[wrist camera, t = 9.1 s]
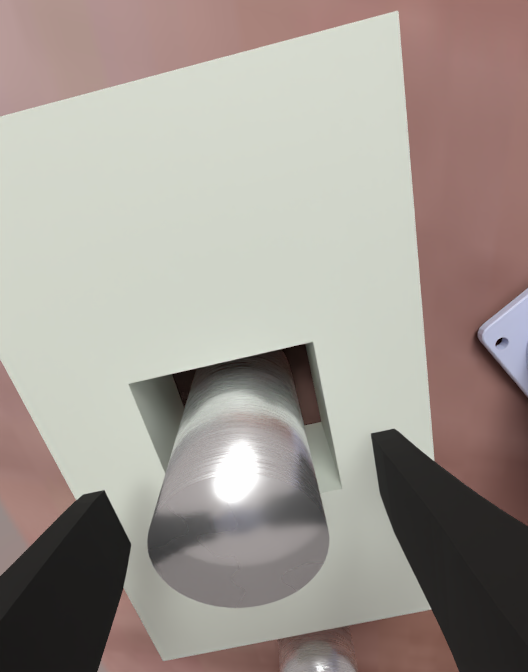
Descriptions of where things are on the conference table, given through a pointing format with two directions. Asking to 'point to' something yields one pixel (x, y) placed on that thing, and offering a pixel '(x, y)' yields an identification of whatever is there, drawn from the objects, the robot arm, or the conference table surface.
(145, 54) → the conference table surface
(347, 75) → the pin board
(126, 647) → the conference table surface
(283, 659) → the short pin
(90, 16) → the conference table surface
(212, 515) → the tall pin
